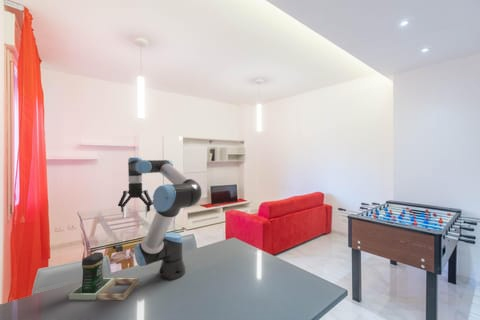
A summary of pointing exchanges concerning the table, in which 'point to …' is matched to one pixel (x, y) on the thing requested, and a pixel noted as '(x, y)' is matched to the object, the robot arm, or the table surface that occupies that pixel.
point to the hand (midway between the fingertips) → (135, 217)
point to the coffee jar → (92, 273)
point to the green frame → (88, 296)
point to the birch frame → (104, 296)
